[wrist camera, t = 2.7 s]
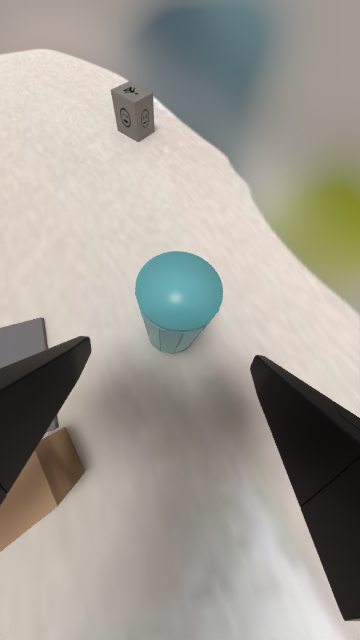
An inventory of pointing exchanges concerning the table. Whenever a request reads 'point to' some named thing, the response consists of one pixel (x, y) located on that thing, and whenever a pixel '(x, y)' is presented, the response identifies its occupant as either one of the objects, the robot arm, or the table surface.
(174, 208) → the table surface
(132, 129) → the dice cube
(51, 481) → the walnut block
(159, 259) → the teal cylinder
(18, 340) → the charcoal mat
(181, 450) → the table surface
